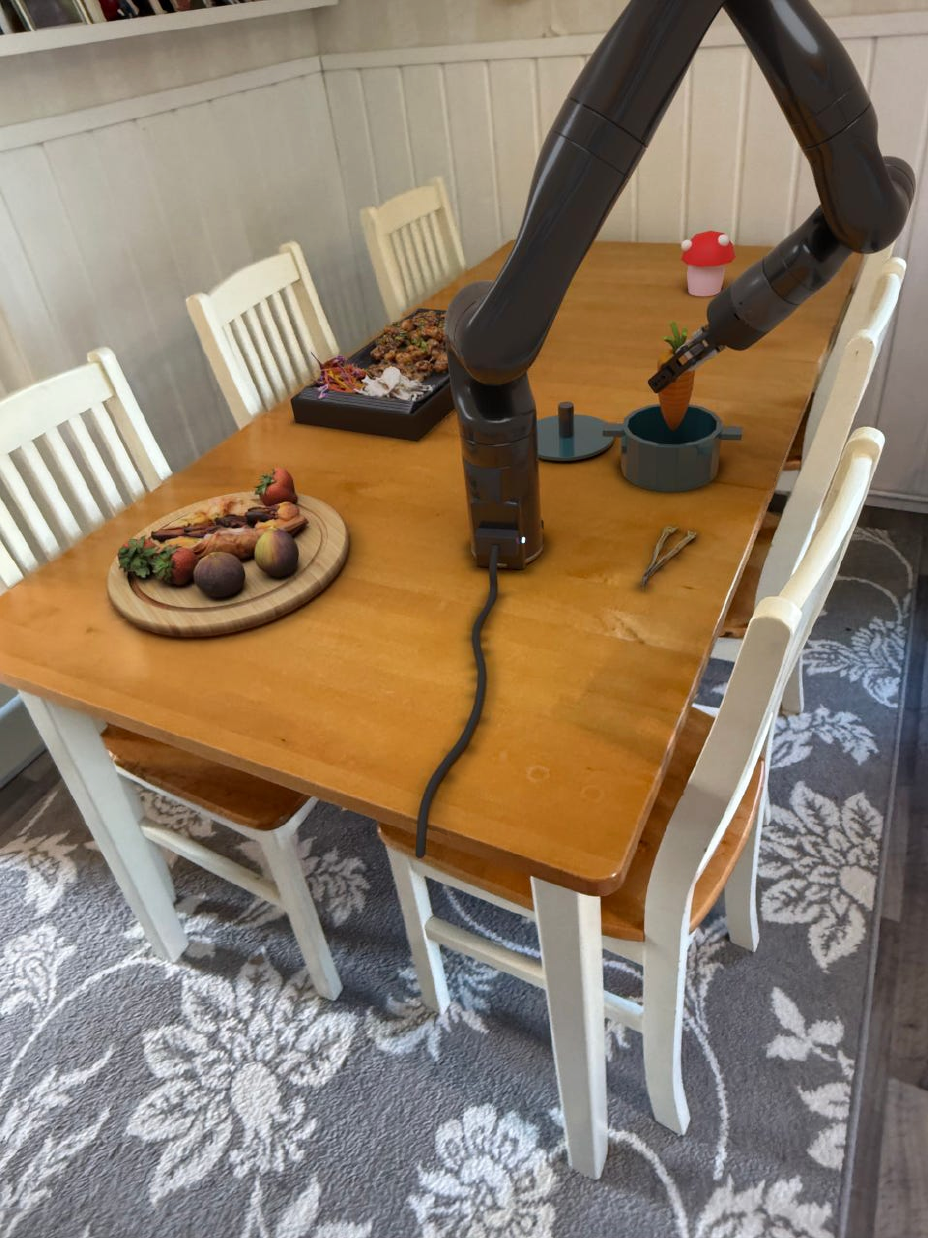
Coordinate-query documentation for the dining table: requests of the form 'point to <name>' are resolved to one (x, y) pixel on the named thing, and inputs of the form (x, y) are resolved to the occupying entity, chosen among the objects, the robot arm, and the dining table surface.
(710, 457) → the saucepan
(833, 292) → the dining table surface
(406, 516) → the dining table surface
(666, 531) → the tongs
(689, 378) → the carrot
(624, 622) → the dining table surface
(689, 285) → the mushroom
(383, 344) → the food platter
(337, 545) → the wooden plate
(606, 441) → the pan lid
